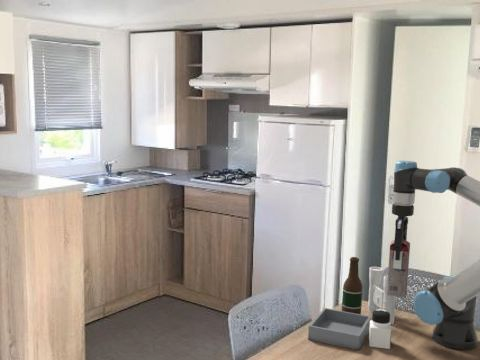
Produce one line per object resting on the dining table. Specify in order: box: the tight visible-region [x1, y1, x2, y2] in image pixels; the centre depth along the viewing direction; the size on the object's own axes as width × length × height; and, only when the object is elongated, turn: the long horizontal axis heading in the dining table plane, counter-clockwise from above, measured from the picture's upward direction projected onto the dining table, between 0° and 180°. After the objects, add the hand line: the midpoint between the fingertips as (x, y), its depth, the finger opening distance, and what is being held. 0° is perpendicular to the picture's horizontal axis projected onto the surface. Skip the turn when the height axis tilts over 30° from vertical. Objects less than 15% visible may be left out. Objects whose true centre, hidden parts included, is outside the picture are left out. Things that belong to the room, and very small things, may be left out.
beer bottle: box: [341, 256, 363, 315], centre depth 217 cm, size 8×8×24 cm
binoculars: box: [367, 266, 397, 325], centre depth 218 cm, size 17×5×18 cm, turn 14°
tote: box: [307, 307, 372, 351], centre depth 200 cm, size 18×20×5 cm
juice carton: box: [387, 239, 411, 299], centre depth 199 cm, size 7×7×22 cm
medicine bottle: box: [368, 309, 392, 350], centre depth 192 cm, size 7×7×12 cm
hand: (398, 265), depth 199 cm, fingers closed on juice carton, 7 cm apart
